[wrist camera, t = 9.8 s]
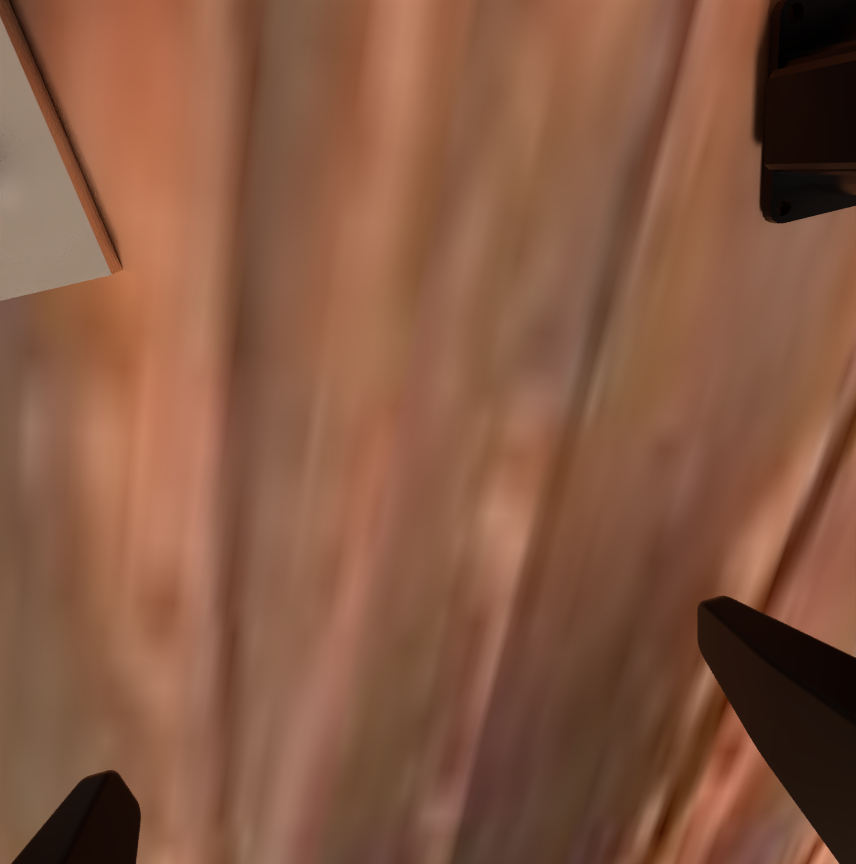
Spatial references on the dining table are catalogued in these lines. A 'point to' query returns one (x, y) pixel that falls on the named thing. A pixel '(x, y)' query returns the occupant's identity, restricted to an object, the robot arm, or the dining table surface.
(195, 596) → the dining table surface
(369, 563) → the dining table surface
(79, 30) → the dining table surface
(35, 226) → the stud block
